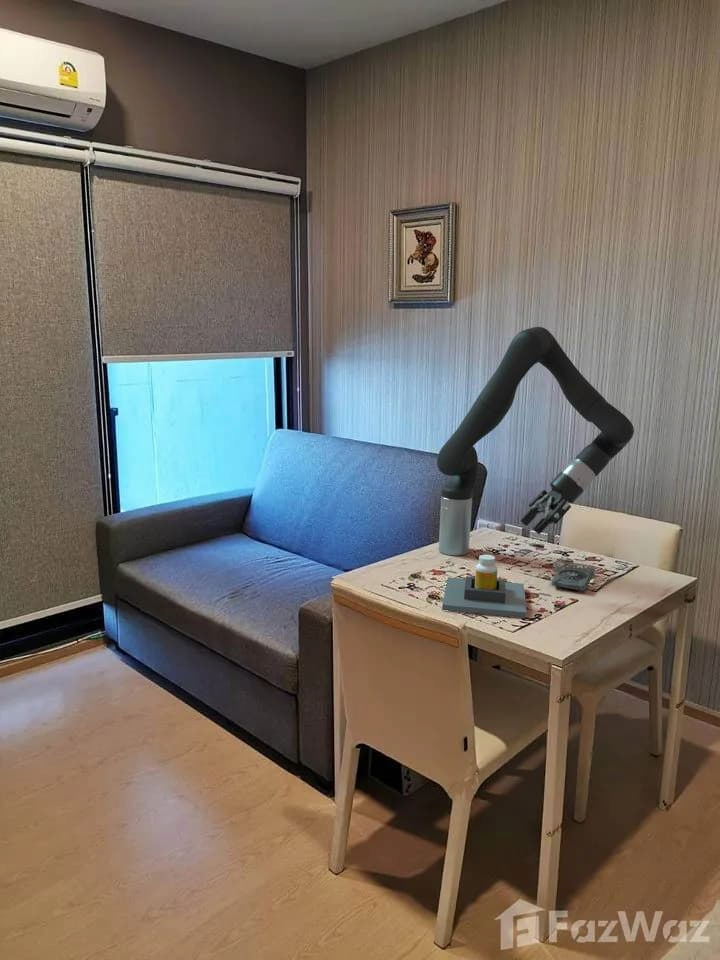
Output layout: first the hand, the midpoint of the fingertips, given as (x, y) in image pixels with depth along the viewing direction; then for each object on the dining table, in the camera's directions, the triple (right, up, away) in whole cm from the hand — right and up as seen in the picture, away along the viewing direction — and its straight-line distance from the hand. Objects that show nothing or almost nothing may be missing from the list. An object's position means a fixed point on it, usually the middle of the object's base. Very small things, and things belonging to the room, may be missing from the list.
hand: (529, 527), depth 189 cm
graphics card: (+14, -16, +15) cm, 26 cm away
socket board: (-11, -18, 0) cm, 22 cm away
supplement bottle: (-11, -17, 0) cm, 20 cm away
